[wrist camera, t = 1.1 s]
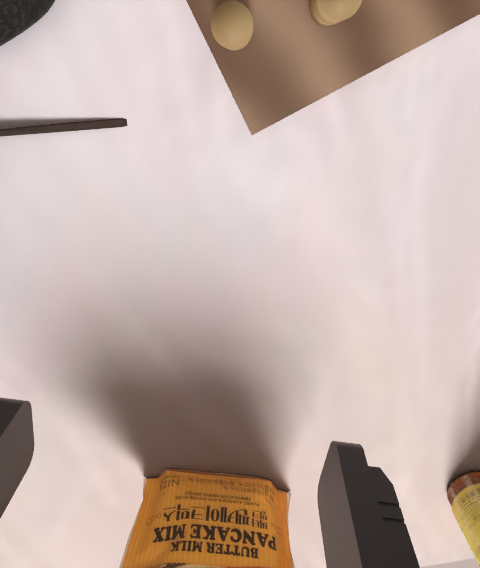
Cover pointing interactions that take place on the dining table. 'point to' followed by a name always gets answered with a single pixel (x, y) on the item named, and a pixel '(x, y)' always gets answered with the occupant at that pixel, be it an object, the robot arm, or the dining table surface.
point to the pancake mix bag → (209, 523)
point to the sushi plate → (13, 21)
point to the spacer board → (313, 45)
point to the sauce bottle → (467, 508)
